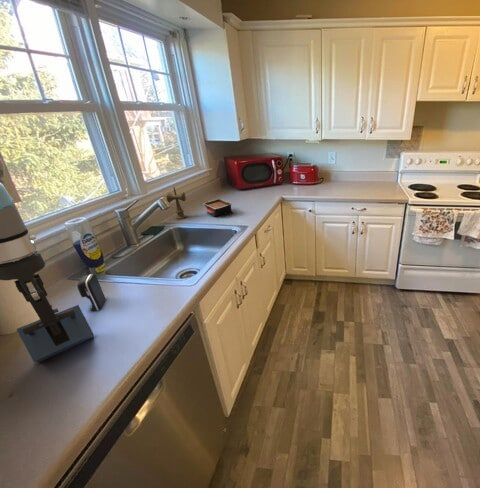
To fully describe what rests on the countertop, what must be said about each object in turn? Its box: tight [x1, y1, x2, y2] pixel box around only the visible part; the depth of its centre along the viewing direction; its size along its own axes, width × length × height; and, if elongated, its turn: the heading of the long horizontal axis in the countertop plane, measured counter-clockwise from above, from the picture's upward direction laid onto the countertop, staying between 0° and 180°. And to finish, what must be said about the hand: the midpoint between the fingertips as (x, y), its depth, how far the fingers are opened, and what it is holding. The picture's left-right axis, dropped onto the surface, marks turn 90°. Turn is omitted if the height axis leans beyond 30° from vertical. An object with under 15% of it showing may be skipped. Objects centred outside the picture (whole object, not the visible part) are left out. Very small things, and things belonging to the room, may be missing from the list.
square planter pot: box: [202, 198, 233, 218], centre depth 180 cm, size 14×18×10 cm
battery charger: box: [76, 273, 106, 312], centre depth 94 cm, size 7×4×11 cm, turn 23°
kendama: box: [165, 186, 187, 220], centre depth 170 cm, size 6×10×20 cm, turn 100°
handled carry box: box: [16, 304, 95, 363], centre depth 72 cm, size 18×12×9 cm
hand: (61, 339), depth 69 cm, fingers closed on handled carry box, 2 cm apart
